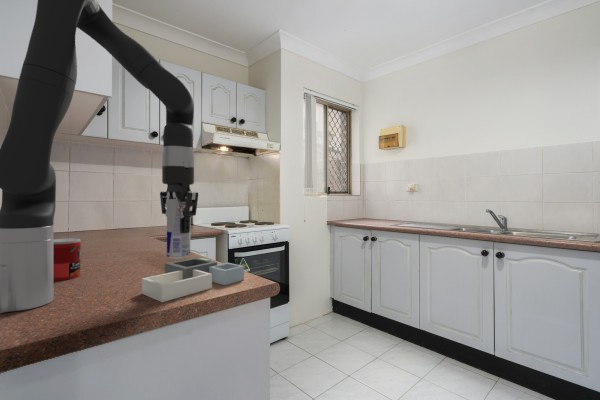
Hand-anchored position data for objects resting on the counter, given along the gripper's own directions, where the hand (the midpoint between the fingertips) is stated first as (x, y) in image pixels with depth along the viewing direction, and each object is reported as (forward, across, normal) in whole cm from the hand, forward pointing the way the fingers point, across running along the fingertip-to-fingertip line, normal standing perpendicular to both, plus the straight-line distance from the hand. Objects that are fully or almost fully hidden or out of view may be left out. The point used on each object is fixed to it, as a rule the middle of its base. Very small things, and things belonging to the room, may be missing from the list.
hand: (178, 231), depth 77 cm
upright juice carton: (+7, 0, 0) cm, 7 cm away
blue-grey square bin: (+15, +2, +14) cm, 21 cm away
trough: (+15, 0, 0) cm, 15 cm away
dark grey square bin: (+15, -8, +9) cm, 19 cm away
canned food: (+15, -37, -14) cm, 42 cm away
